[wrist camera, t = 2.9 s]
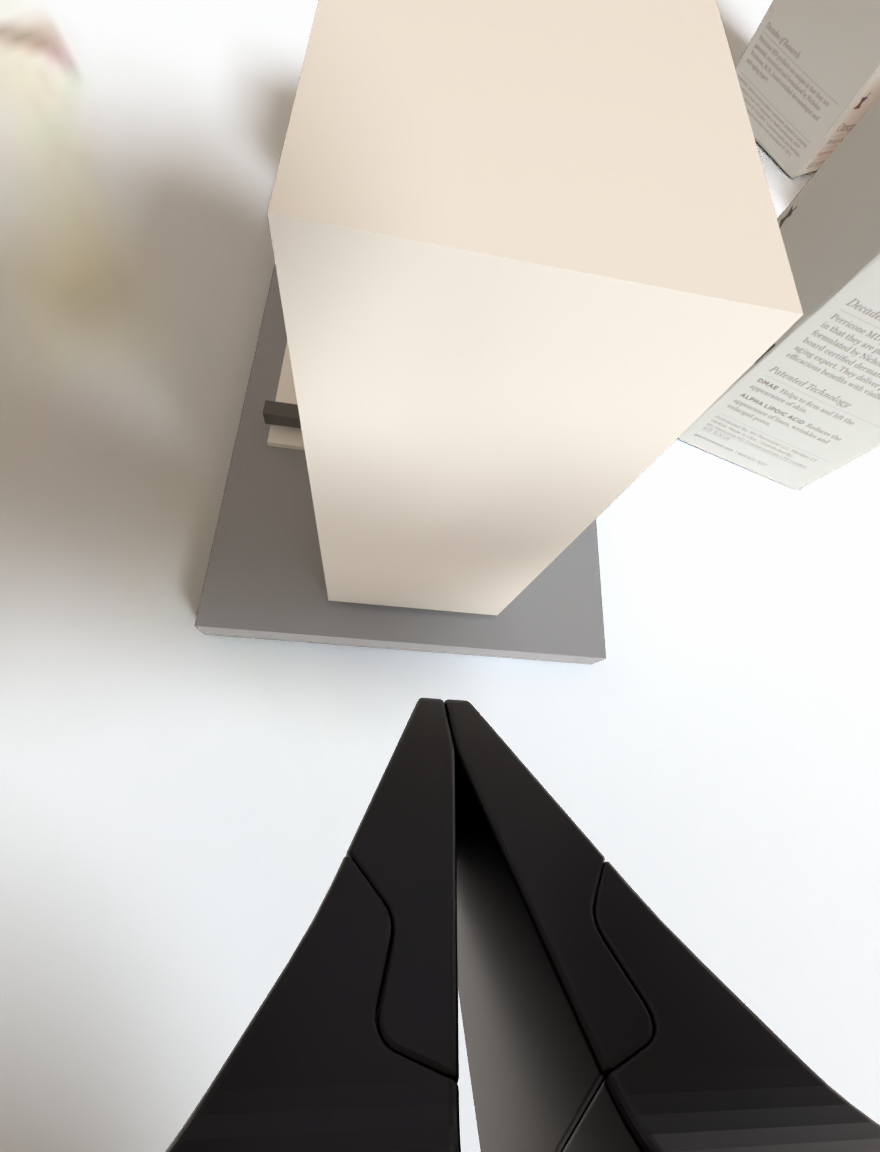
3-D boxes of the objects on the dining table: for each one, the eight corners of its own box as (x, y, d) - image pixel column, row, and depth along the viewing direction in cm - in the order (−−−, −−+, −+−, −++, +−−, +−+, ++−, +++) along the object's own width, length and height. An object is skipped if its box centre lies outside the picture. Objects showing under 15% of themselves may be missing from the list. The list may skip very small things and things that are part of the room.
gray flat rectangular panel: (591, 664, 16) (609, 657, 15) (204, 634, 15) (191, 623, 13) (564, 220, 24) (575, 192, 22) (304, 167, 22) (301, 134, 21)
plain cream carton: (497, 615, 15) (802, 314, 5) (234, 592, 14) (-88, 146, 4) (498, 366, 18) (681, -126, 8) (285, 332, 17) (188, -282, 7)
